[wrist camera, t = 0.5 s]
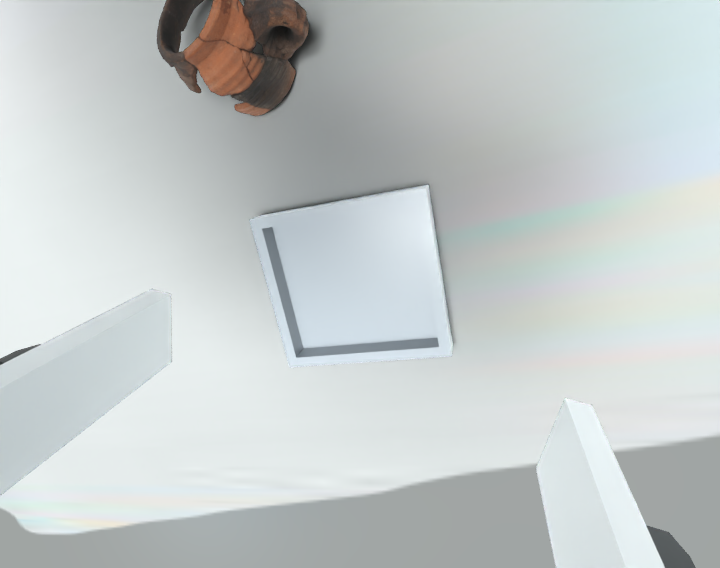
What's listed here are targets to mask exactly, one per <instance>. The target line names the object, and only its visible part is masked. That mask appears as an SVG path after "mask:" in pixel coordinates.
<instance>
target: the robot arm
mask: <svg viewBox="0 0 720 568" xmlns="http://www.w3.org/2000/svg"><path fill="white" fill-rule="evenodd" d="M171 362H172V324H171V294H169V293H165V292H161V291H158V290H154V289H151V290H149V291H147V292H145V293H143V294H141V295H139V296H137V297H135V298H133V299H131V300H129V301H127V302H125V303H123V304H121V305H119V306H117V307H115V308H113V309H111V310H109V311H107V312H105V313H103V314H101V315H99V316H97V317H95V318H93V319H91V320H89V321H87V322H85V323H83V324H81V325H79V326H77V327H75V328H73V329H71V330H69V331H67V332H65V333H63V334H61V335H59V336H57V337H55V338H53V339H51V340H49V341H47V342H45V343H43V344H39V345H35V346H32V347H28V348H25V349H21V350H18V351H15V352H13V353H11V354H9V355H7V356H5V357H3V358H1V359H0V496H1V495H2V494H3V493H4V492H6V491H7V490H8V489H10V488H11V487H12V486H13V485H15V484H16V483H17V482H18V481H20V480H21V479H22V478H24V477H25V476H26V475H27V474H29V473H30V472H31V471H33V470H34V469H35V468H36V467H38V466H39V465H40V464H42V463H43V462H44V461H45V460H47V459H48V458H49V457H50V456H52V455H53V454H54V453H56V452H57V451H58V450H59V449H61V448H62V447H63V446H65V445H66V444H67V443H68V442H70V441H71V440H72V439H73V438H75V437H76V436H77V435H79V434H80V433H81V432H82V431H84V430H85V429H86V428H88V427H89V426H90V425H91V424H93V423H94V422H95V421H97V420H98V419H99V418H100V417H102V416H103V415H104V414H105V413H107V412H108V411H109V410H111V409H112V408H113V407H114V406H116V405H117V404H118V403H120V402H121V401H122V400H123V399H125V398H126V397H127V396H129V395H130V394H131V393H132V392H134V391H135V390H136V389H137V388H139V387H140V386H141V385H143V384H144V383H145V382H146V381H148V380H149V379H150V378H152V377H153V376H154V375H155V374H157V373H158V372H159V371H160V370H162V369H163V368H164V367H166V366H167V365H168V364H169V363H171ZM536 470H537V475H538V481H539V486H540V490H541V496H542V500H543V506H544V511H545V516H546V520H547V525H548V531H549V535H550V541H551V546H552V551H553V555H554V561H555V566H556V568H695V566H694V564H693V562H692V560H691V558H690V556H689V555H688V554H687V553H686V552H685V550H684V549H683V548H682V547H681V546H680V545H679V544H678V542H677V541H676V540H675V539H674V538H673V537H672V535H671V534H670V533H669V532H666V531H663V530H660V529H656V528H653V527H650V526H646V524H645V522H644V520H643V518H642V516H641V513H640V511H639V509H638V506H637V505H636V502H635V500H634V498H633V495H632V493H631V491H630V489H629V486H628V484H627V482H626V480H625V477H624V475H623V473H622V471H621V469H620V466H619V464H618V462H617V460H616V457H615V455H614V453H613V451H612V448H611V446H610V444H609V442H608V440H607V437H606V435H605V433H604V431H603V428H602V426H601V424H600V422H599V420H598V417H597V415H596V413H595V411H594V408H593V406H592V405H590V404H587V403H583V402H579V401H575V400H571V399H568V398H565V399H564V401H563V404H562V406H561V408H560V411H559V413H558V416H557V418H556V421H555V423H554V426H553V428H552V430H551V433H550V435H549V438H548V440H547V443H546V445H545V447H544V450H543V452H542V455H541V457H540V460H539V462H538V464H537V467H536Z"/></svg>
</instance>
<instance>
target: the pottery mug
mask: <svg viewBox="0 0 720 568" xmlns="http://www.w3.org/2000/svg"><path fill="white" fill-rule="evenodd" d="M203 1H204V0H166V3H165V6H164V8H163V12H162V14H161V17H160V20H159V26H158V30H157V44H158V49H159V52H160V54H161V56H162V57H163V59H165V61H166V62H167V63H168V64H169V65H170V66H171V67H173V66H174V67H175V68H176V71H177V73H178V74H179V76H180V78H181V79H182V80H183V81H184V82H185V83H186V85H187V86H188V88H189V89H190V90H192V91H194V92H196V93H201V89H200V87H199V86H198V84H197V79H196V74H197V70H199V73H200V75H201V77H202V78H203V79H204V82H205V83H206V85H207V86H208V88H209V89H210V91H211V92H214V93H216V94H217V95H220V96H226V95H231V97H232V98H235V99H237V100H239V101H243V102H244V103H240V104H236V105H235V110H236V111H238V112H241V113H245V114H250V115H253V116H258V115H262V114H265V113H266V112H268V111H270V110H271V109H273V108H274V107H276V106H277V105H278V104H279V103H280V102H281V101H282V100H283V98H284V97H285V96H286V95H287V93H288V91H289V90H290V88H291V85H292V83H293V80H294V77H295V73H296V71H295V69H294V68H293V67H292V66H291V64H290V63H289V61H288V59H289V58H291V57H292V55H293V53H294V51H295V50H297V49H298V48H299V47H300V46H301V45H302V44H303V43H304V41H305V39H306V37H307V35H308V29H309V24H308V20H307V17H306V15H307V13H306V11H305V10H304V9H303V8H302V7H301V6H300V5H299V4H298V3H297V2H296V1H294V0H246V1H245V3H244V6H243V5H242V4H241V2H240V1H239V0H213V3H212V7H211V10H210V13H209V16H208V19H207V21H206V23H205V26H204V28H203V29H202V31H201V32H200V34H199V37H197V38H196V39H195V41H194V42H193V43H192V44H191V45H190V46H189V47H188V48H186V49H185V50H184V51H183V52H179V47H180V42H181V31H184V29H185V27H186V25H187V22H188V20H189V17H190V15H191V14H192V12H193V10H194V9H195V8H196V7H197V6H198V5H199V4H200V3H201V2H203ZM256 42H258V43H259V44H262V47H263V52H264V54H263V55H260V54H257V53H254V52H252V51H253V49H254V48H255V46H256Z"/></svg>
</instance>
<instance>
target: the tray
mask: <svg viewBox="0 0 720 568" xmlns="http://www.w3.org/2000/svg"><path fill="white" fill-rule="evenodd" d="M249 221H250V224H251V228H252V232H253V235H254V239H255V243H256V246H257V250H258V254H259V257H260V261H261V265H262V268H263V272H264V276H265V279H266V283H267V287H268V290H269V294H270V298H271V301H272V305H273V309H274V312H275V316H276V320H277V323H278V327H279V331H280V334H281V338H282V342H283V346H284V349H285V353H286V357H287V360H288V364H289V367H303V366H317V365H332V364H347V363H361V362H376V361H391V360H405V359H420V358H435V357H449V356H452V349H453V341H452V335H451V328H450V322H449V315H448V309H447V302H446V295H445V289H444V282H443V276H442V269H441V262H440V256H439V249H438V243H437V236H436V230H435V223H434V216H433V210H432V203H431V197H430V190H429V184H428V185H422V186H417V187H412V188H406V189H401V190H395V191H390V192H384V193H379V194H373V195H368V196H362V197H357V198H352V199H346V200H341V201H335V202H330V203H324V204H319V205H313V206H308V207H302V208H297V209H292V210H286V211H281V212H275V213H270V214H264V215H260V216H258V217H255V218H252V219H250V220H249Z"/></svg>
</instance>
